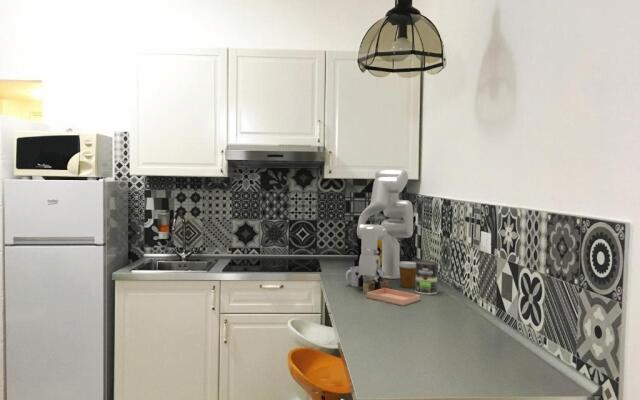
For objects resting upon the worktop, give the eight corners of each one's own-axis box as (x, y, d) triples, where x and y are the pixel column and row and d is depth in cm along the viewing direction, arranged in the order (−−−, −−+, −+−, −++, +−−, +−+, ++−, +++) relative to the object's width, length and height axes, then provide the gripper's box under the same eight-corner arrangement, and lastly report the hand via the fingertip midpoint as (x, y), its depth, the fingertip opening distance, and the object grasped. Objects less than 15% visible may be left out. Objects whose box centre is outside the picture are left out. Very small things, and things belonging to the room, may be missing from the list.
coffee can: (436, 295, 215) (436, 265, 214) (413, 293, 218) (414, 263, 218) (438, 290, 224) (439, 261, 224) (416, 288, 228) (417, 260, 227)
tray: (384, 293, 218) (384, 287, 218) (420, 300, 205) (420, 294, 205) (366, 298, 209) (366, 292, 208) (403, 306, 195) (403, 300, 195)
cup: (366, 286, 232) (366, 268, 232) (347, 287, 230) (347, 269, 230) (362, 283, 239) (362, 266, 239) (343, 284, 237) (343, 266, 237)
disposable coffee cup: (420, 286, 234) (421, 262, 233) (410, 289, 226) (411, 264, 226) (404, 283, 240) (404, 260, 239) (394, 286, 233) (394, 262, 232)
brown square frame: (376, 286, 233) (376, 278, 233) (389, 288, 227) (389, 280, 227) (358, 290, 223) (359, 282, 222) (372, 293, 217) (372, 285, 217)
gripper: (389, 253, 218) (388, 289, 218) (359, 249, 230) (359, 284, 230) (379, 255, 212) (378, 292, 213) (350, 251, 224) (349, 286, 225)
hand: (368, 288), depth 222 cm, fingers open, 9 cm apart
